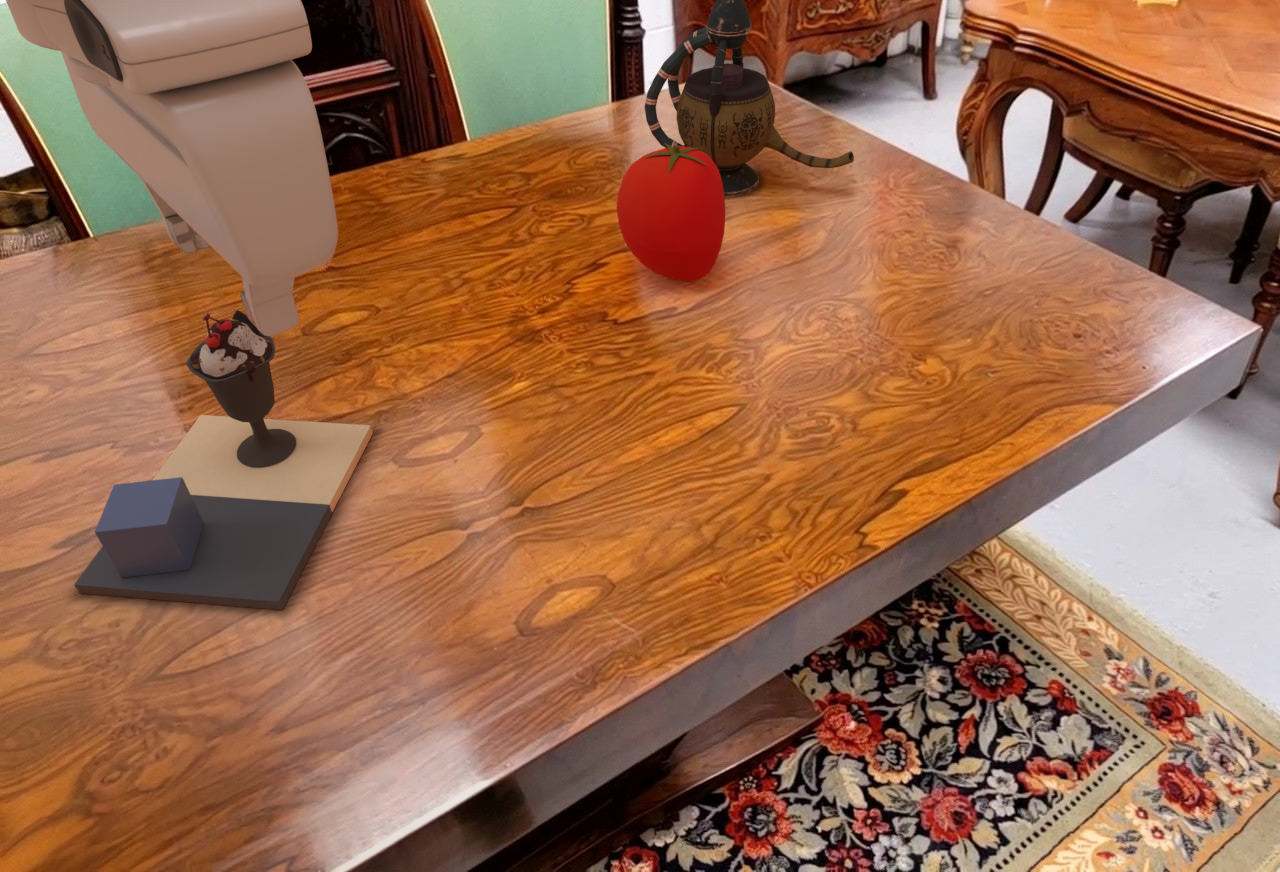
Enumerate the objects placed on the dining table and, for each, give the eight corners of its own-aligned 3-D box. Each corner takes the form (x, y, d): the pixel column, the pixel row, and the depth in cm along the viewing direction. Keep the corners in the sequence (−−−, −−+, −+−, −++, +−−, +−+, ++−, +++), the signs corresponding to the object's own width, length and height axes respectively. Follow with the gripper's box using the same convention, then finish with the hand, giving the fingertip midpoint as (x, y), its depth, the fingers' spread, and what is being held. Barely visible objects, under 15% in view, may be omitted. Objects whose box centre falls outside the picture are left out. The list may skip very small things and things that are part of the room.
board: (79, 593, 70) (73, 584, 69) (204, 422, 85) (200, 414, 84) (282, 610, 68) (278, 601, 68) (373, 433, 83) (370, 424, 83)
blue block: (121, 578, 70) (94, 532, 66) (138, 530, 73) (113, 484, 70) (190, 570, 70) (166, 523, 67) (204, 522, 74) (182, 476, 71)
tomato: (748, 275, 102) (756, 151, 93) (669, 313, 97) (669, 186, 88) (674, 233, 110) (674, 115, 101) (596, 266, 105) (589, 144, 95)
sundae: (246, 486, 77) (184, 336, 67) (214, 447, 81) (151, 299, 71) (320, 450, 80) (271, 301, 70) (285, 414, 84) (235, 268, 74)
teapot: (671, 153, 127) (671, -33, 111) (856, 176, 120) (883, -18, 105) (642, 192, 118) (637, -4, 103) (840, 219, 112) (866, 14, 96)
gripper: (-29, -69, 40) (94, 223, 49) (136, 59, 28) (258, 411, 37) (123, -91, 43) (212, 187, 52) (328, 16, 31) (397, 351, 40)
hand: (233, 282), depth 45 cm, fingers open, 8 cm apart
